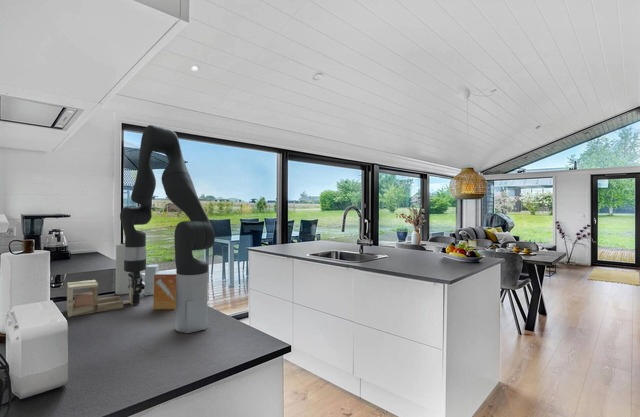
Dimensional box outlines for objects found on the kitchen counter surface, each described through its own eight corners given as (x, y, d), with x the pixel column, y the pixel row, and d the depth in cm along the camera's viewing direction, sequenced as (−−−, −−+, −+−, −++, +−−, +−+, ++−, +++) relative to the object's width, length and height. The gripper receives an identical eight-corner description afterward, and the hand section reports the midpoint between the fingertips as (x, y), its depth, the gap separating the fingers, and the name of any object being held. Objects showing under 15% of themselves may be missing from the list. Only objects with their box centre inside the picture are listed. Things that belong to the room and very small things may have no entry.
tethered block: (140, 303, 124) (140, 288, 124) (75, 314, 111) (75, 296, 111) (137, 300, 128) (137, 285, 128) (74, 310, 115) (74, 293, 115)
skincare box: (155, 295, 137) (155, 266, 137) (144, 295, 136) (144, 267, 136) (158, 291, 142) (159, 264, 142) (148, 291, 141) (148, 264, 141)
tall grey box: (111, 293, 137) (112, 243, 137) (125, 290, 143) (126, 242, 143) (123, 296, 134) (124, 244, 134) (136, 292, 140) (137, 243, 140)
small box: (152, 310, 117) (153, 274, 117) (159, 304, 123) (159, 270, 123) (176, 309, 118) (177, 273, 118) (181, 304, 124) (182, 270, 124)
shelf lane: (123, 307, 119) (123, 281, 119) (68, 316, 108) (68, 287, 108) (119, 302, 126) (119, 277, 126) (66, 310, 115) (67, 282, 115)
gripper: (150, 259, 122) (149, 304, 122) (141, 255, 133) (141, 296, 133) (127, 261, 117) (126, 308, 117) (120, 256, 128) (120, 299, 128)
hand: (134, 301), depth 125 cm, fingers open, 5 cm apart
